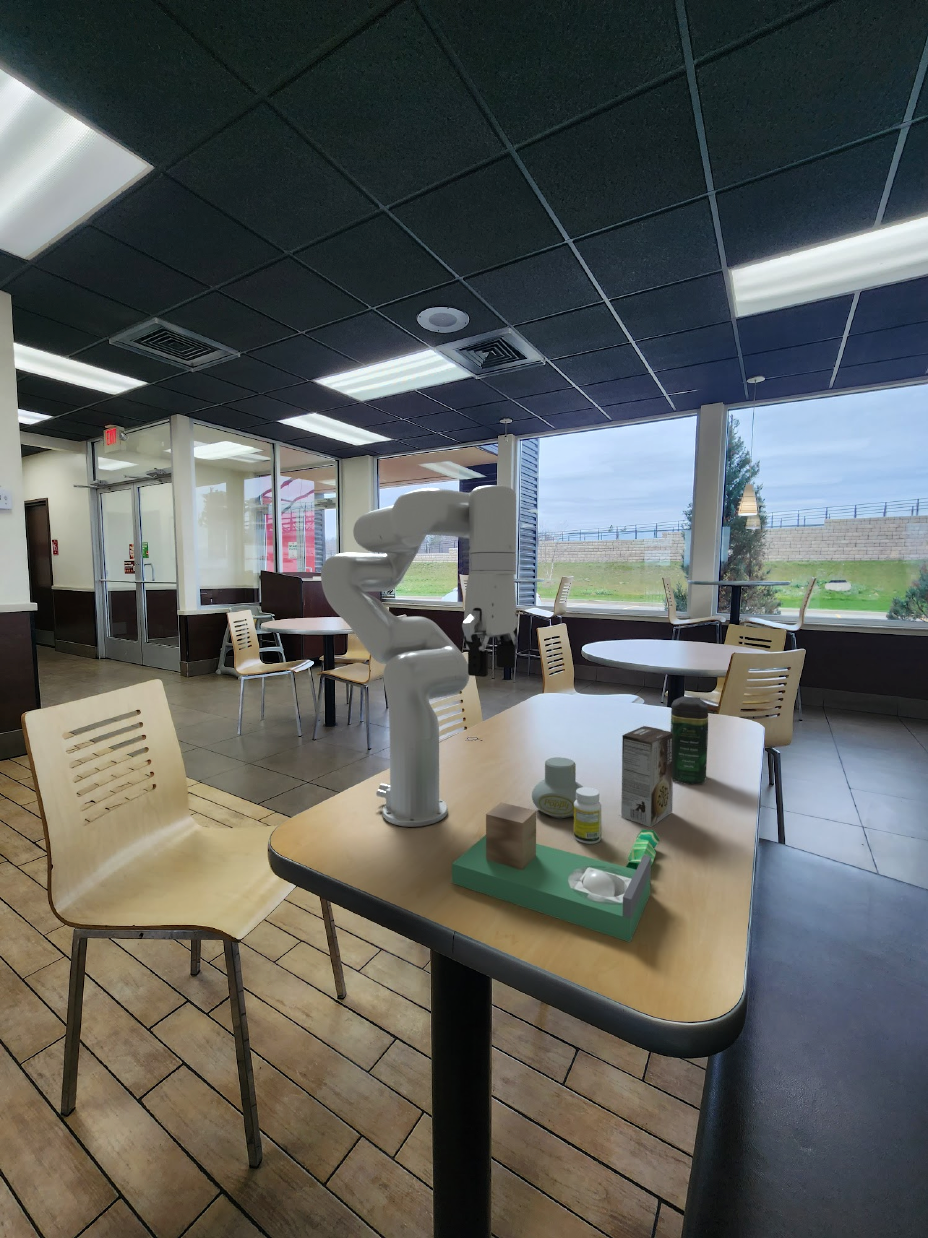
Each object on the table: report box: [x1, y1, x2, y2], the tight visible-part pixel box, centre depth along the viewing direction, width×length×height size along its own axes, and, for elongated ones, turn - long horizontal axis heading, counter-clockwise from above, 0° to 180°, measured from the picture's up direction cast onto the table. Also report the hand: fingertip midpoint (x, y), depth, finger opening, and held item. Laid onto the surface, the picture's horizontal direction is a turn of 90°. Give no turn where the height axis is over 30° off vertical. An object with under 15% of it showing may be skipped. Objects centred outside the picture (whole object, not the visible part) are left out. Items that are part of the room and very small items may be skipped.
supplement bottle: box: [573, 786, 602, 845], centre depth 93 cm, size 5×5×8 cm
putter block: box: [485, 802, 537, 870], centre depth 80 cm, size 6×5×7 cm
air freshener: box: [531, 756, 584, 819], centre depth 104 cm, size 11×8×10 cm
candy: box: [625, 828, 661, 870], centre depth 84 cm, size 12×3×4 cm
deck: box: [451, 834, 652, 943], centre depth 77 cm, size 26×12×6 cm, turn 60°
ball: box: [582, 871, 615, 897], centre depth 74 cm, size 4×4×4 cm
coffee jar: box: [670, 695, 709, 785], centre depth 121 cm, size 10×8×19 cm
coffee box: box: [620, 725, 674, 828], centre depth 102 cm, size 9×6×16 cm
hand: (492, 671), depth 86 cm, fingers open, 9 cm apart
